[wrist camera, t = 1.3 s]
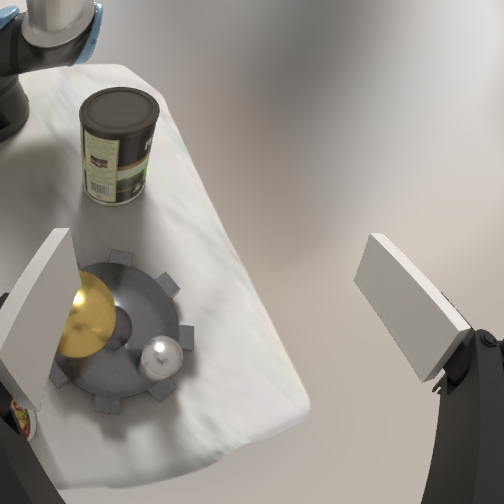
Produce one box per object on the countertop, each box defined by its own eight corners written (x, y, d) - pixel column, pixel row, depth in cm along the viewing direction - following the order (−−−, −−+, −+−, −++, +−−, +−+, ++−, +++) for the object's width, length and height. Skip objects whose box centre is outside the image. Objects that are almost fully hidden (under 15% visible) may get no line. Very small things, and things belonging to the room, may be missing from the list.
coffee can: (144, 156, 46) (159, 87, 34) (146, 206, 42) (161, 134, 30) (85, 157, 41) (86, 86, 30) (79, 208, 37) (72, 134, 26)
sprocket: (54, 246, 32) (31, 176, 21) (193, 268, 39) (226, 208, 28) (30, 396, 23) (-22, 392, 12) (191, 418, 30) (228, 431, 19)
